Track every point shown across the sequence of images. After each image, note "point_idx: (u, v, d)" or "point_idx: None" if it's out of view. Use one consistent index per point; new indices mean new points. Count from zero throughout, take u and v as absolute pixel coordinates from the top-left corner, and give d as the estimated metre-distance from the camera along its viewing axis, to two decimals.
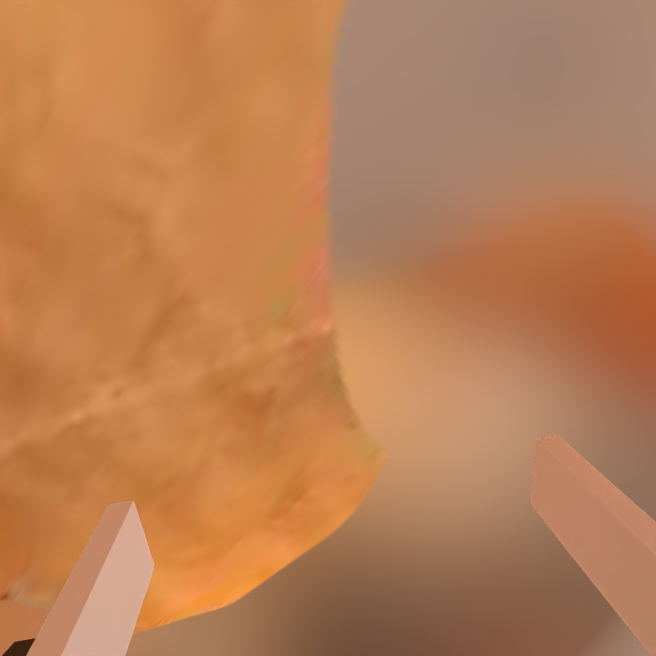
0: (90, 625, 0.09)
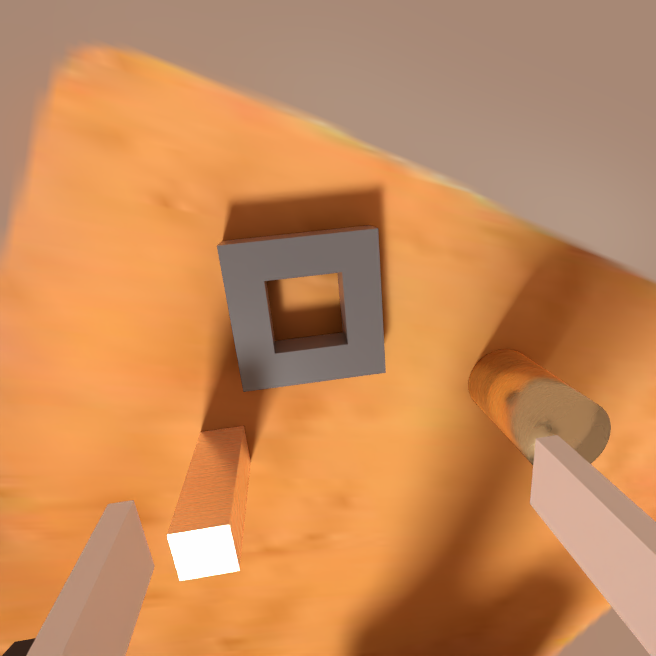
0: (90, 626, 0.09)
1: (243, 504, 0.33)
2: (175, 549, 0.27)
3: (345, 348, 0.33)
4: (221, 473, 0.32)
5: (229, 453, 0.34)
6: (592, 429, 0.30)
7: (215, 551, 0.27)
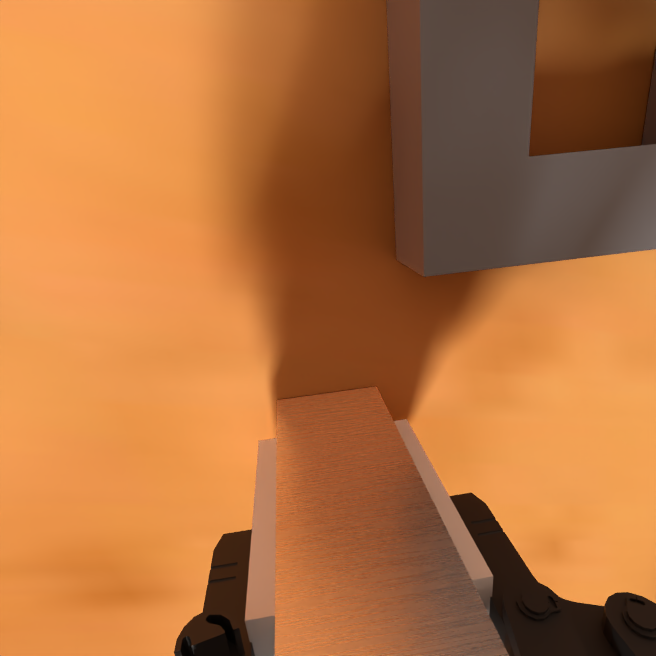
0: None
1: None
2: None
3: None
4: (388, 514, 0.10)
5: (379, 452, 0.12)
6: None
7: None
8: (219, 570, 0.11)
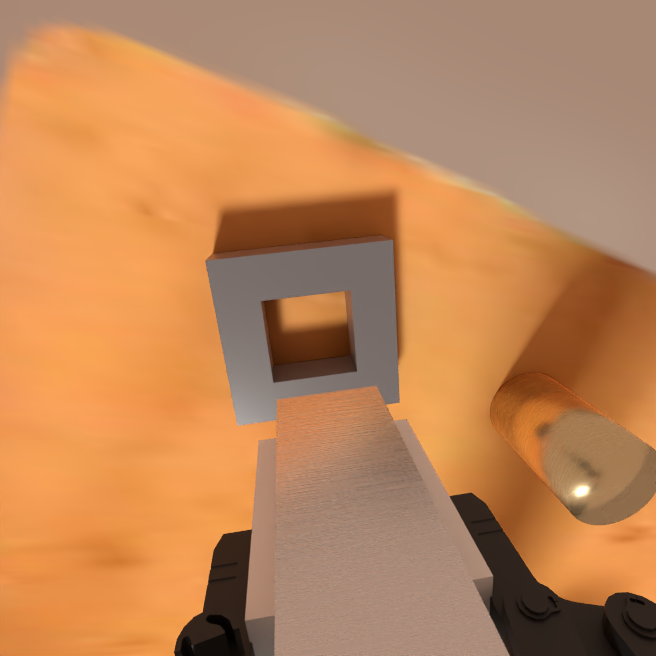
0: None
1: None
2: None
3: (354, 376, 0.29)
4: (388, 513, 0.10)
5: (378, 451, 0.12)
6: (642, 473, 0.26)
7: None
8: (219, 570, 0.11)
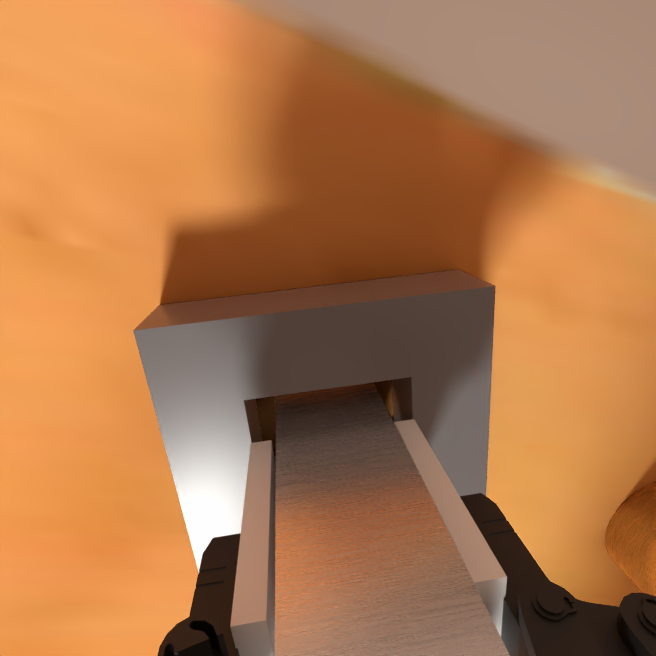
0: (272, 525, 0.12)
1: None
2: None
3: None
4: (374, 473, 0.11)
5: (368, 424, 0.14)
6: None
7: None
8: (207, 574, 0.10)
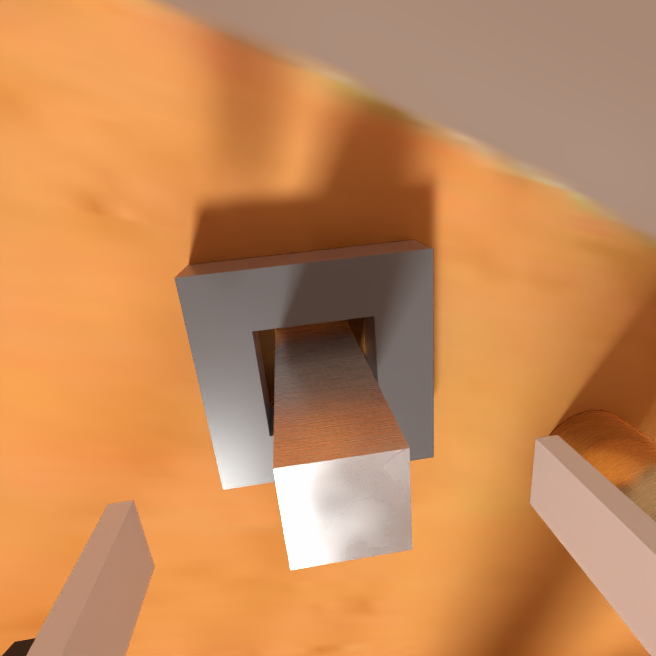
0: (90, 625, 0.09)
1: None
2: (288, 502, 0.12)
3: None
4: (341, 372, 0.17)
5: (341, 348, 0.19)
6: None
7: (371, 508, 0.13)
8: None
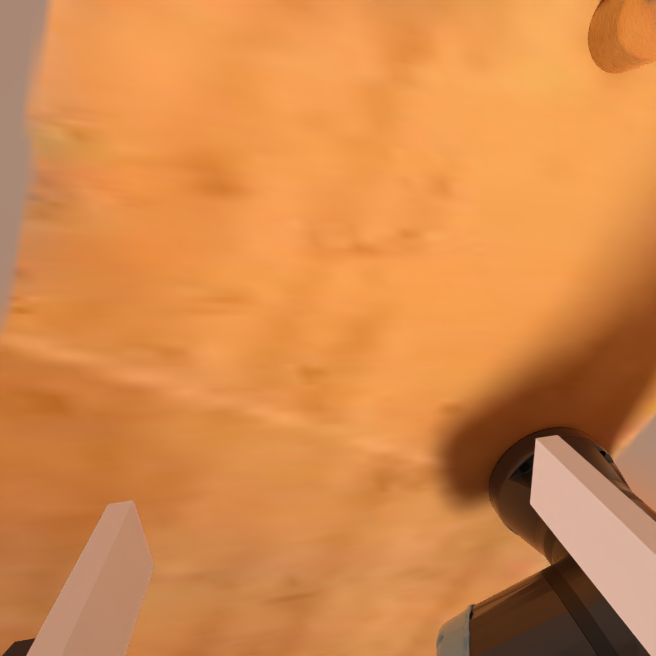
0: (90, 626, 0.09)
1: None
2: None
3: None
4: None
5: None
6: None
7: None
8: None
